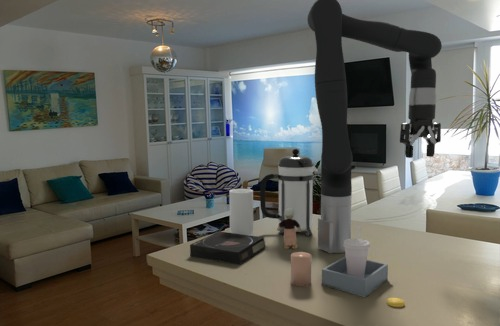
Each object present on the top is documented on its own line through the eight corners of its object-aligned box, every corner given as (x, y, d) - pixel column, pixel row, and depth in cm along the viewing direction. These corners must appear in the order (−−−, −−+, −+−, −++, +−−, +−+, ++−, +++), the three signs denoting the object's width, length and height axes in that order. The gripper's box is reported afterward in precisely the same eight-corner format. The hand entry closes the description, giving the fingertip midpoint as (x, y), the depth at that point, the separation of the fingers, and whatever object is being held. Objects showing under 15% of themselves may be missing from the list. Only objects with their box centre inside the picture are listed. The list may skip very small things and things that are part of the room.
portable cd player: (240, 266, 116) (240, 252, 116) (190, 257, 124) (190, 244, 124) (265, 250, 131) (265, 237, 130) (219, 243, 139) (219, 231, 138)
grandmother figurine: (299, 245, 134) (300, 206, 133) (302, 248, 130) (302, 208, 129) (276, 245, 134) (276, 207, 132) (278, 249, 130) (277, 209, 128)
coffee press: (295, 224, 161) (295, 146, 158) (325, 233, 148) (325, 148, 145) (259, 231, 151) (258, 148, 148) (287, 241, 138) (287, 151, 135)
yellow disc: (395, 308, 89) (395, 306, 89) (383, 302, 92) (383, 299, 92) (407, 305, 90) (408, 302, 90) (395, 299, 93) (395, 296, 93)
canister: (297, 287, 100) (297, 259, 99) (287, 280, 105) (287, 253, 104) (315, 284, 102) (315, 256, 102) (304, 277, 107) (304, 250, 106)
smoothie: (370, 285, 100) (371, 228, 98) (342, 284, 101) (343, 227, 99) (367, 276, 106) (369, 222, 104) (342, 274, 107) (343, 221, 106)
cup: (229, 232, 149) (228, 188, 148) (252, 232, 150) (251, 188, 148) (230, 239, 141) (229, 192, 140) (254, 238, 142) (254, 192, 140)
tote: (365, 297, 95) (365, 280, 94) (321, 285, 102) (322, 269, 101) (387, 279, 105) (387, 264, 104) (346, 269, 112) (346, 255, 111)
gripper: (429, 104, 132) (427, 155, 134) (394, 103, 126) (392, 156, 128) (449, 103, 125) (446, 157, 127) (413, 102, 119) (411, 159, 121)
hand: (419, 157), depth 127 cm, fingers open, 8 cm apart
